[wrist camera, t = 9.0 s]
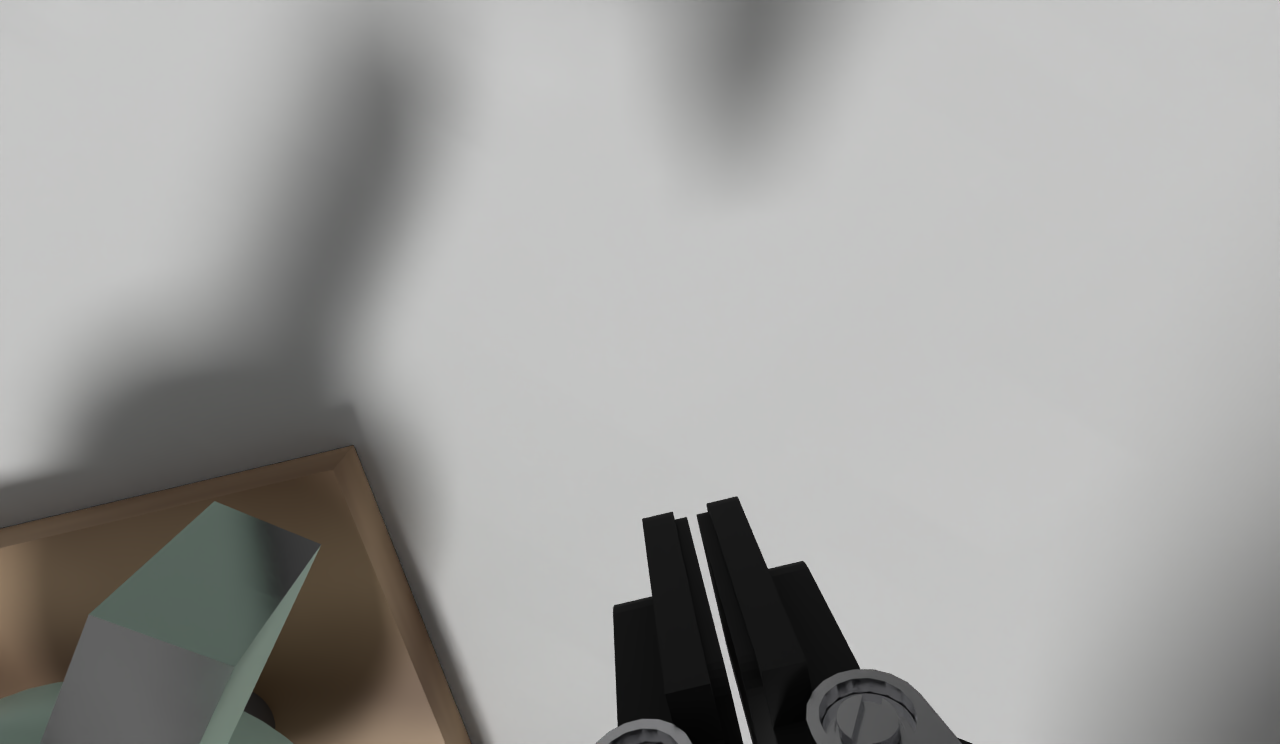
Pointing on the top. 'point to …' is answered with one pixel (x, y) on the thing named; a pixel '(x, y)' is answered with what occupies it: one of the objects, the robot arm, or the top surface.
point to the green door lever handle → (176, 643)
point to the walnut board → (313, 632)
